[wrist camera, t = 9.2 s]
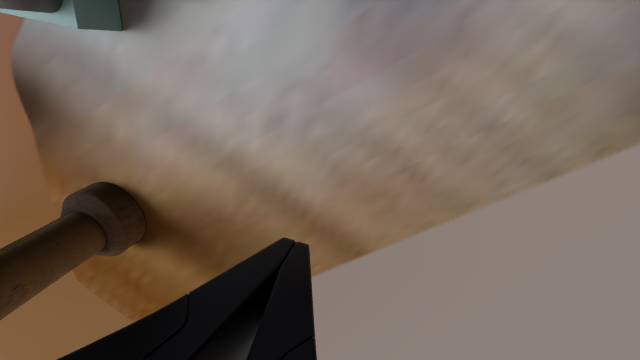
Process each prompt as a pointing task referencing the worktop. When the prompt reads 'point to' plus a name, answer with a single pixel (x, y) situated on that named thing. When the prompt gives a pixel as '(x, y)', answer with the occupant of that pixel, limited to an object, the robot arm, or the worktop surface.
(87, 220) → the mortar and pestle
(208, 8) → the worktop surface
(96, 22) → the stool seat
